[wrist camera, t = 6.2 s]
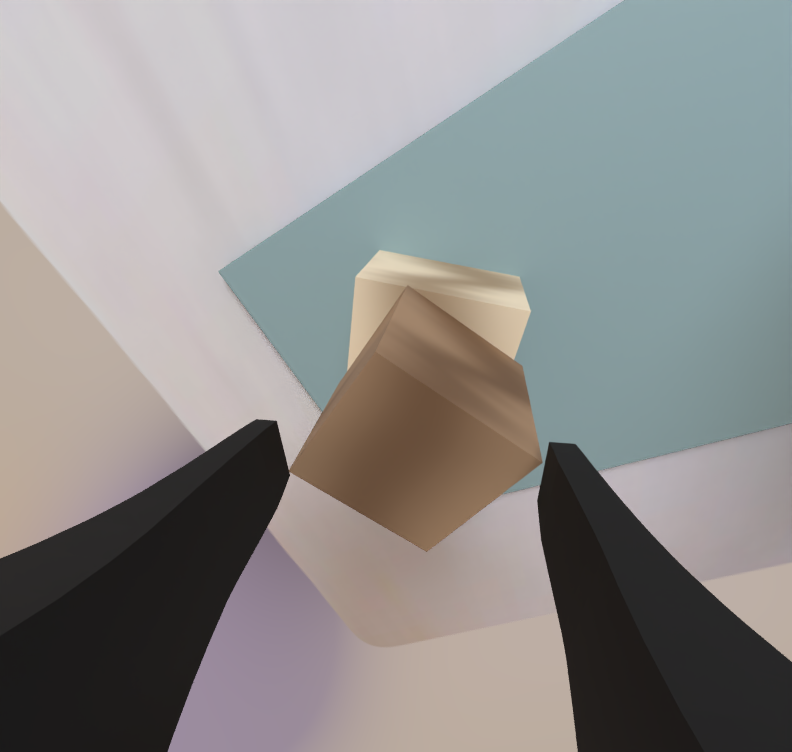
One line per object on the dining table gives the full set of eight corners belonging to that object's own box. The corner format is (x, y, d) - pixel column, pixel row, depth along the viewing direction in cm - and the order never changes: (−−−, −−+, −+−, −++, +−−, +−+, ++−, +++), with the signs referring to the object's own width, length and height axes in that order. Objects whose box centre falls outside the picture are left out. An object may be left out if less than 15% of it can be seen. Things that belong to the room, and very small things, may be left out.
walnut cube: (522, 366, 14) (543, 462, 10) (439, 447, 16) (426, 551, 12) (407, 284, 13) (375, 351, 9) (338, 383, 16) (288, 471, 12)
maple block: (519, 276, 16) (530, 311, 13) (482, 393, 19) (483, 446, 16) (379, 249, 17) (355, 276, 13) (365, 368, 20) (343, 414, 17)
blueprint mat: (783, -105, 10) (793, -114, 10) (834, 405, 17) (841, 411, 17) (222, 269, 19) (218, 271, 19) (402, 513, 26) (401, 518, 25)
